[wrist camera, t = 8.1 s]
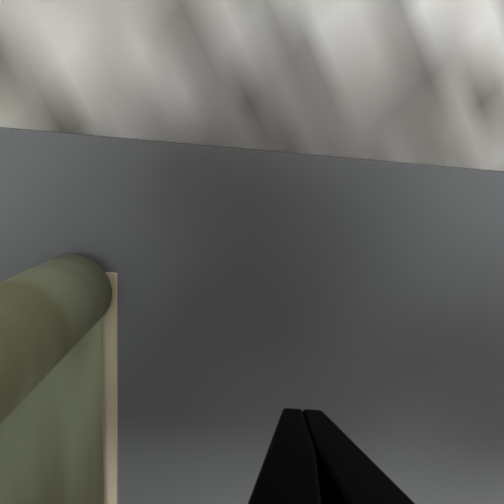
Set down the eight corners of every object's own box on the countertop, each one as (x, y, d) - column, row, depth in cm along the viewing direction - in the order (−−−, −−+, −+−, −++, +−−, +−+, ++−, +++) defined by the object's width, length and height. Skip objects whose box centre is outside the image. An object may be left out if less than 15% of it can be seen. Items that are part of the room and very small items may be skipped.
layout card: (-272, 683, 12) (-294, 705, 12) (-481, 86, 8) (-528, 80, 7) (441, 701, 13) (448, 721, 13) (594, 180, 9) (614, 181, 8)
